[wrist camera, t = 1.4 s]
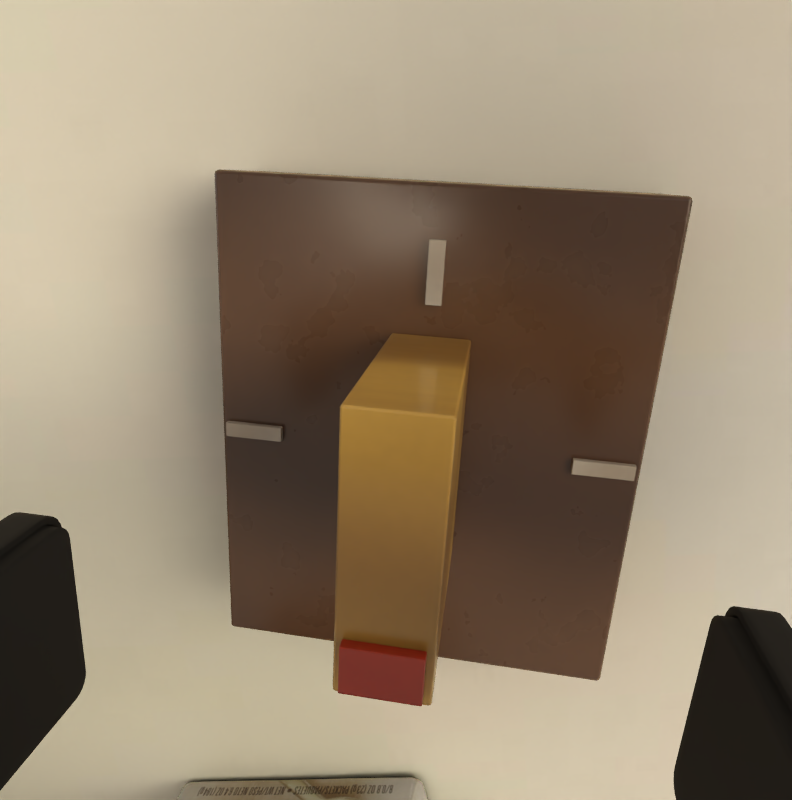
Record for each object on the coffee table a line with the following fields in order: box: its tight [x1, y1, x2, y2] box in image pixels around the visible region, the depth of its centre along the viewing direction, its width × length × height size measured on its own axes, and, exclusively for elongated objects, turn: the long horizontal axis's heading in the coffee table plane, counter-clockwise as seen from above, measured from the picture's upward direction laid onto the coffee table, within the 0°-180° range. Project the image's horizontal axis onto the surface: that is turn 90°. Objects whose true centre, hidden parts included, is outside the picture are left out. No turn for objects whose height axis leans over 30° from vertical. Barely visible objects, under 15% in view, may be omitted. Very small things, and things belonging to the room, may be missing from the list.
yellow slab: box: [333, 333, 471, 706], centre depth 13 cm, size 6×2×5 cm, turn 177°
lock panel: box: [215, 170, 692, 680], centre depth 17 cm, size 12×10×3 cm
